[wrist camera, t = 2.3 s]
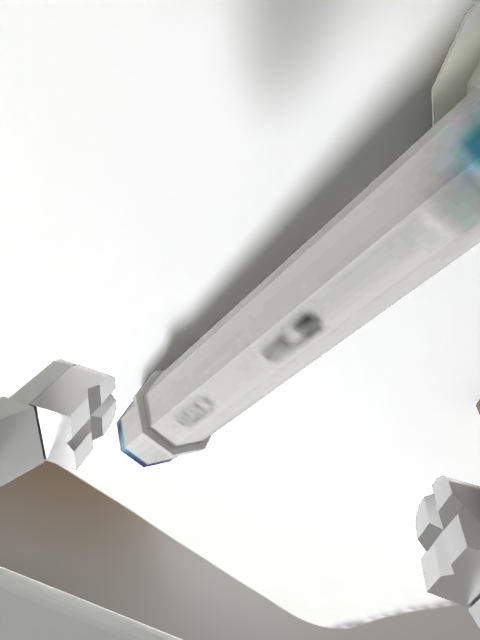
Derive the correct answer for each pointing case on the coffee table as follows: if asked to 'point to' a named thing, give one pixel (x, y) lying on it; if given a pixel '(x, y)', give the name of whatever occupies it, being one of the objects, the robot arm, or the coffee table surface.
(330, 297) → the white handheld device
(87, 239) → the coffee table surface
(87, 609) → the robot arm
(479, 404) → the bracket
